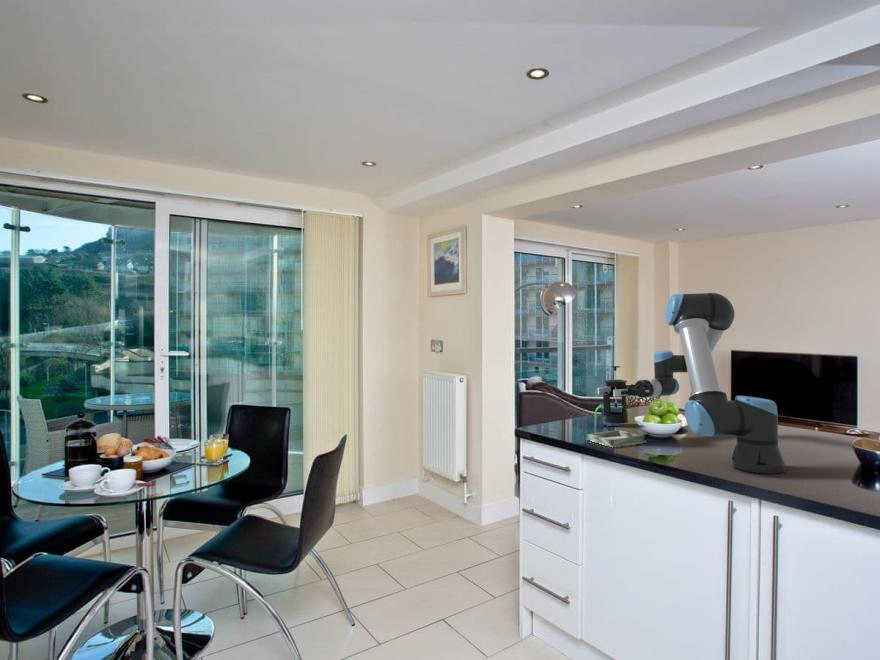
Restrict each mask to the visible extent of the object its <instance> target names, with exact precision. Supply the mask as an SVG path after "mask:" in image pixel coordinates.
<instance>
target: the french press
mask: <svg viewBox="0 0 880 660" xmlns="http://www.w3.org/2000/svg"><path fill="white" fill-rule="evenodd" d="M610 368H613V371H614V379H613V378H612V379H607V380H604V381H603V382H604V383H605V386H604V387H615V390H616V387H625V386H626V385H627V383H628V381H627V380H624V379H617V375H616V374H617V368H618V369H619V368H621V366H619V365H611V366H610ZM609 392H610V393H608V392H604V394H602V395H603V396H602V398H603V400H602V401H603V403H602V404H603V407H604V416H605V422H608V423H617V424H620V425H621V424H627V423H629V412H628V413H626V409H627V396H618V397H613V391H609ZM611 398H615V399H614V400H617V398H621V405H617V404H618V403H617V401H615V405H610V403H611ZM610 409H622V411H621V412H611V410H610Z"/></svg>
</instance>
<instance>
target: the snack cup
mask: <svg viewBox="0 0 880 660" xmlns="http://www.w3.org/2000/svg"><path fill="white" fill-rule="evenodd" d="M615 403H616V402H615ZM615 403H614V402H612V403H611V402H610V405H615ZM617 405H622V403H617ZM598 410H599V411H600V412H601V413H600V414H601V418H602V423H603V426H604V425H607V426H606V427H608V426H616V427H619V426H620V425H621V424H617V423H608V422H605V416H604V407H603V403H600V404H599V405H598V406H597V407H596V408H595V411H594V418H595V420H598V414H597V413H598ZM610 410H611V412H622V409H610ZM626 413H628V414H629V412H628V409H627V408H626Z"/></svg>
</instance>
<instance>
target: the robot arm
mask: <svg viewBox="0 0 880 660" xmlns="http://www.w3.org/2000/svg"><path fill="white" fill-rule="evenodd" d="M734 319H735V308H734V305H733V304H732V303H731V301H730V300H729V299H728V297H726V296H725V295H722V294H720V293H716V292H701V293H683V292H682V293H676V294H671V296H669V298H668V300H667V303H666V308H665V322H666V323H665V324H667V326H673V330H674V332H675V334H677V335H679V337H680V341H681V347H682V352H683V354H674V353H673V351H672V350H658V351H657V350H656V351H655V352H654V354H653V355H654V358H653V365H654V366H653V368H654V378H649V379H648V378H647V379H640V380H638V381H635V384H632V383H631V384H626V386H625V387H616V390H615V387H607V386H604V387H601V386H600V387H597V395H603V394H604V392H608V393H610V392H609V391H613V397H612V398H615V397H616V398H619V397H618V396H626V397H628V396H633V397H635V396H637V397H638V398H642V399H643V398H644V399H645V398H651V399H654V398H655V397H666V396H668V397H669V396H671V395H676V394H677V393H678V392H679V389H680V384H679V382H678V381H679V380H677V379H676V378H674V373H676V374H677V373H687V374H688V378H689V379H688V380H689V384H690V389H691V394H690V395H689V396H688V401H686V403H685V405H684V417H685V420H686V423H687V425H688V428H689V429H690V430H691V432H692V433H693V434H695V435H697V436H701V437H702V436H703V437H706V436H707V437H736V444H735V447H734V449H733V452H732V456H731V457H730V458H731V459H730V462H731V463H730V465H731V467H733V468H734V469H736V468H737V470H741V471H743V472H748V473H754V472H755V473H756V474H769V475H770V474H771V475H773V474H781V473H784V472H786V463H785V461H784V458H783V455H782V452H781V450H780V447H779V425H778V424H779V423H778V421H779V419H778V417H779V413H778V407H777V406H778V405H777V404H776V402H775V401H773V400H771V399H767V398H762V397H756V396H755V397H754V396H748V395H747V396H746V395H736V396H735V398H734V400H732V399H731V400H729V399H728V396H727V393H726V391H723V390H721V389H720V385H719V380H718V375H717V372H716V368H715V364H714V360H713V355H712V353H713V351H714V349H715V348H716V346H717V344H718V342H719V341H720V340H721V337H722V336H723V333H725V331H727V330H729V329H730V328H731V326H732V324H733V322H734Z"/></svg>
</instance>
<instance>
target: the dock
mask: <svg viewBox="0 0 880 660" xmlns="http://www.w3.org/2000/svg"><path fill="white" fill-rule="evenodd" d="M585 439H586V440H590V441H592V442H595V443H599V444H602V445H605V446H609V447H612V448H613V447H619V448H622V447H621V446H626V447H630V446H629V445H633V446H637V445H636V444H639V445H644V444H643V443H646V444H647V440H645V435H643V434H638V433H634V432H629V431H625V430H620V429H615V430H609V431H608V430H607V431H600V432H593V433H586V438H584V440H585ZM605 446H604V447H605ZM609 447H608V448H609ZM612 448H611V449H612ZM613 449H614V448H613Z"/></svg>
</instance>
